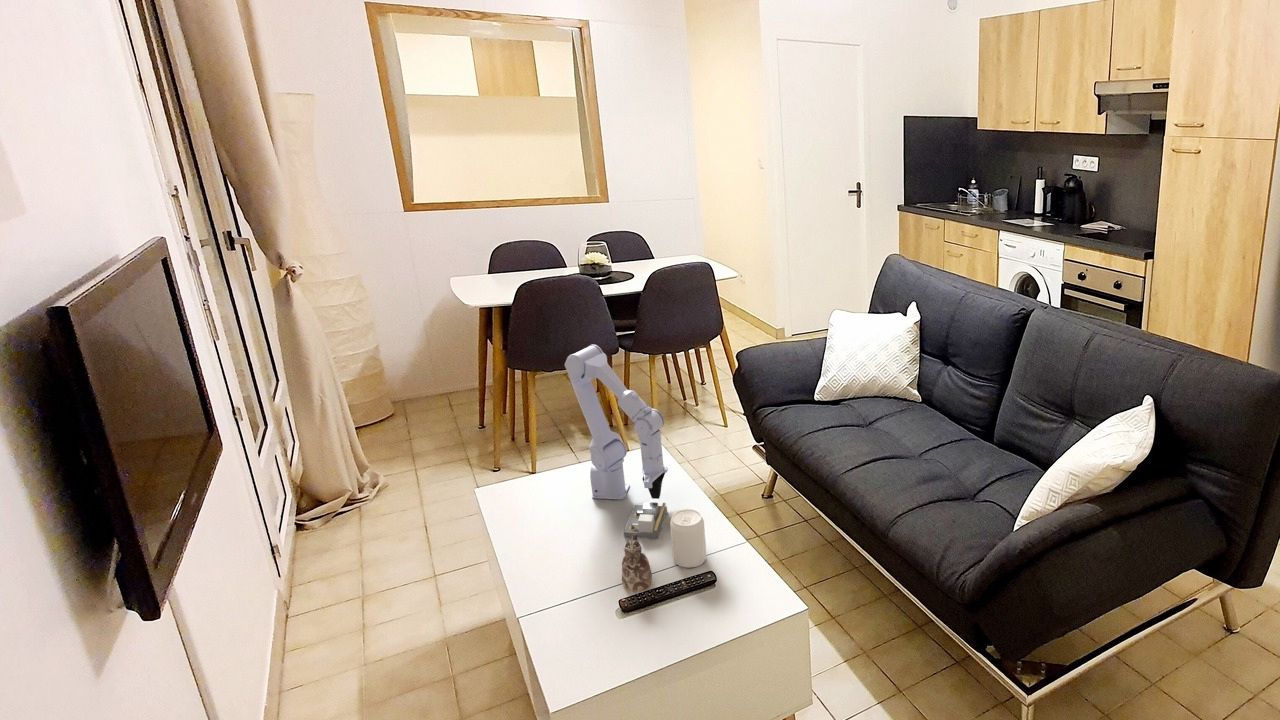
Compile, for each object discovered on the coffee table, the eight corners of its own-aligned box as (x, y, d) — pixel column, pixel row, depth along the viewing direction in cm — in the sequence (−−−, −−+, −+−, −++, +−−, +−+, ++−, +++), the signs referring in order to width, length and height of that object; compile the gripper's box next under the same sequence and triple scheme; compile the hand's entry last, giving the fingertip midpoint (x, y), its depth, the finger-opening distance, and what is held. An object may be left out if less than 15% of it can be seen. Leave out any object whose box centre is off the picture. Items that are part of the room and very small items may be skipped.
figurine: (617, 590, 162) (612, 546, 158) (628, 571, 168) (623, 529, 164) (646, 594, 159) (641, 551, 155) (656, 575, 166) (652, 532, 161)
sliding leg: (635, 517, 186) (634, 507, 185) (637, 511, 189) (636, 501, 188) (656, 518, 185) (655, 508, 184) (658, 512, 187) (658, 502, 186)
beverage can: (709, 551, 172) (707, 509, 168) (702, 571, 165) (698, 528, 161) (678, 547, 175) (675, 506, 171) (669, 567, 168) (665, 525, 164)
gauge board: (624, 537, 181) (622, 521, 180) (635, 509, 193) (633, 494, 192) (657, 538, 179) (656, 522, 178) (667, 510, 191) (665, 495, 189)
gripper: (660, 467, 180) (665, 512, 185) (671, 441, 193) (674, 484, 198) (634, 466, 182) (639, 511, 187) (646, 441, 195) (650, 483, 200)
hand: (655, 497), depth 193 cm, fingers closed
